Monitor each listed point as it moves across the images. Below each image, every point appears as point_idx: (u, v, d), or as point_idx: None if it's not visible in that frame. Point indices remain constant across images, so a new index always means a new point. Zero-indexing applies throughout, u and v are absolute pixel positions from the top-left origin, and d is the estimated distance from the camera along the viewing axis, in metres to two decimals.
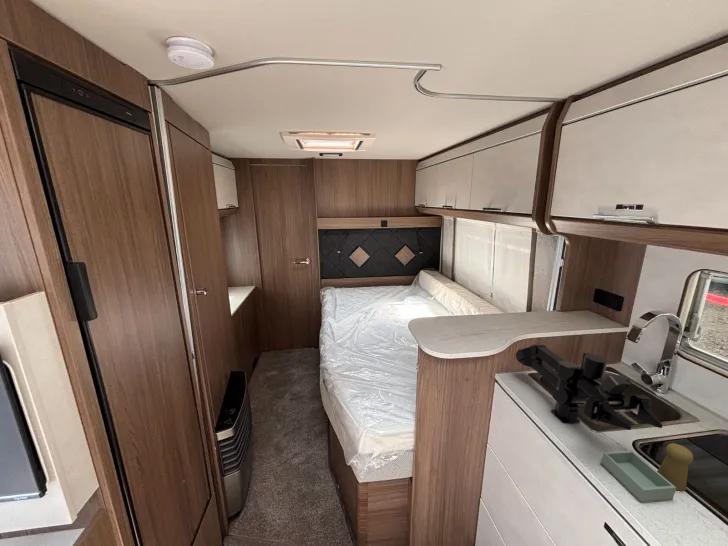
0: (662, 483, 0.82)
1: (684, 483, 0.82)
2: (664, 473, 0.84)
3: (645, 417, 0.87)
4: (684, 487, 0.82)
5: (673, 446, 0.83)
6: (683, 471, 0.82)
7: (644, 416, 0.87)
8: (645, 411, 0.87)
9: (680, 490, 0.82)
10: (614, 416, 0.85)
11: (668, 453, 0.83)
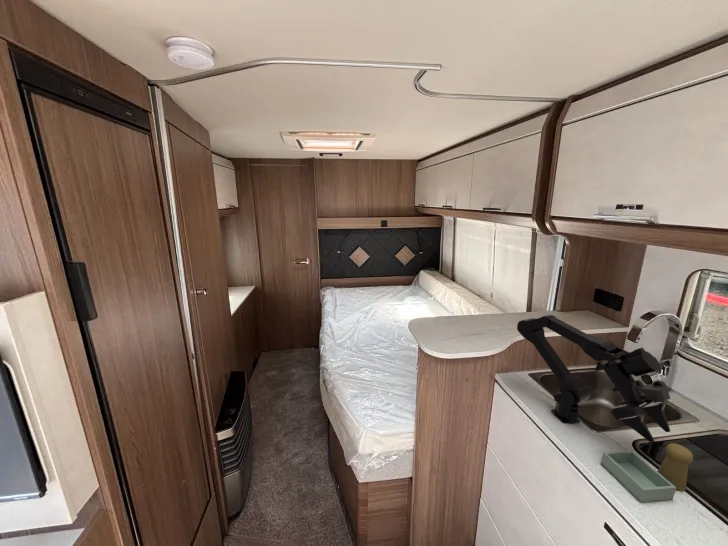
0: (662, 483, 0.82)
1: (684, 483, 0.82)
2: (664, 473, 0.84)
3: (655, 415, 0.91)
4: (684, 487, 0.82)
5: (673, 446, 0.83)
6: (683, 471, 0.82)
7: (654, 414, 0.91)
8: (659, 413, 0.90)
9: (680, 490, 0.82)
10: (643, 428, 0.85)
11: (668, 453, 0.83)
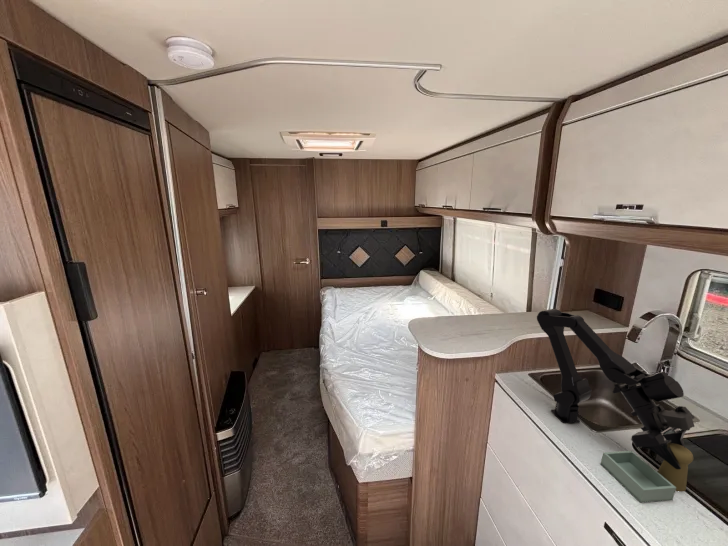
0: (662, 483, 0.82)
1: (684, 483, 0.82)
2: (664, 473, 0.84)
3: None
4: (684, 487, 0.82)
5: (673, 446, 0.83)
6: (683, 471, 0.82)
7: (672, 442, 0.86)
8: (678, 441, 0.85)
9: (680, 490, 0.82)
10: (669, 454, 0.82)
11: None
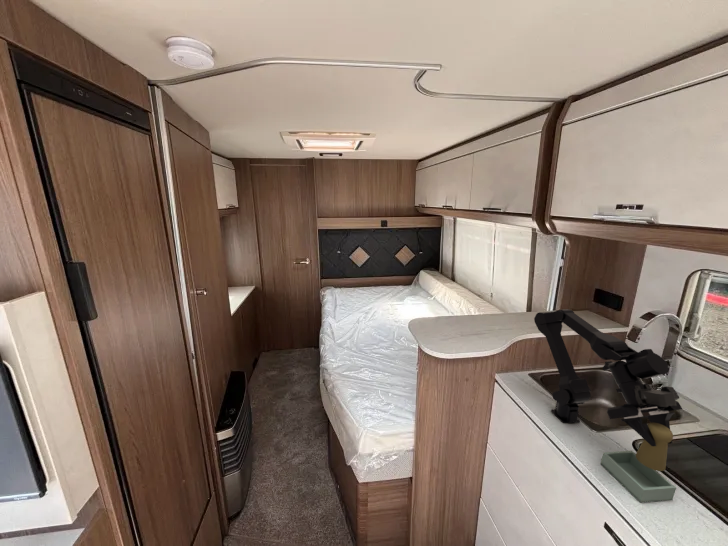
0: (662, 483, 0.82)
1: (661, 462, 0.80)
2: (641, 451, 0.83)
3: None
4: (661, 467, 0.80)
5: (653, 424, 0.82)
6: (660, 450, 0.80)
7: None
8: (663, 422, 0.83)
9: (656, 469, 0.81)
10: (644, 430, 0.81)
11: None
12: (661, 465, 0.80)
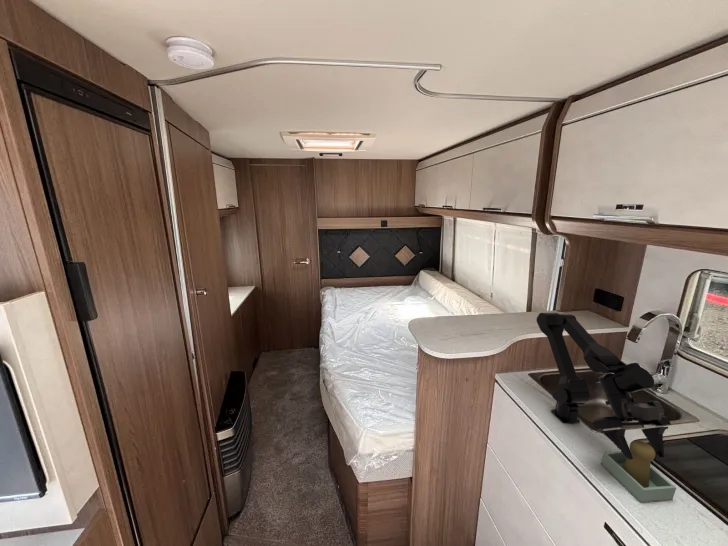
0: (662, 483, 0.82)
1: (643, 480, 0.82)
2: (625, 468, 0.85)
3: (651, 438, 0.85)
4: (644, 484, 0.82)
5: (636, 442, 0.84)
6: (642, 468, 0.82)
7: (651, 437, 0.85)
8: (656, 436, 0.84)
9: None
10: (622, 443, 0.82)
11: (629, 447, 0.84)
12: (643, 483, 0.82)
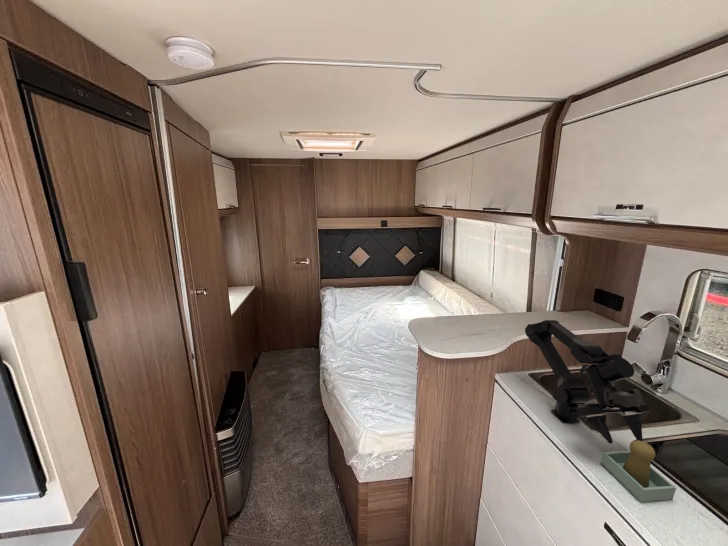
0: (662, 483, 0.82)
1: (643, 480, 0.82)
2: (625, 468, 0.85)
3: (631, 424, 0.91)
4: (644, 484, 0.82)
5: (636, 442, 0.84)
6: (642, 468, 0.82)
7: (631, 423, 0.91)
8: (635, 422, 0.90)
9: None
10: (603, 428, 0.88)
11: (629, 447, 0.84)
12: (643, 483, 0.82)
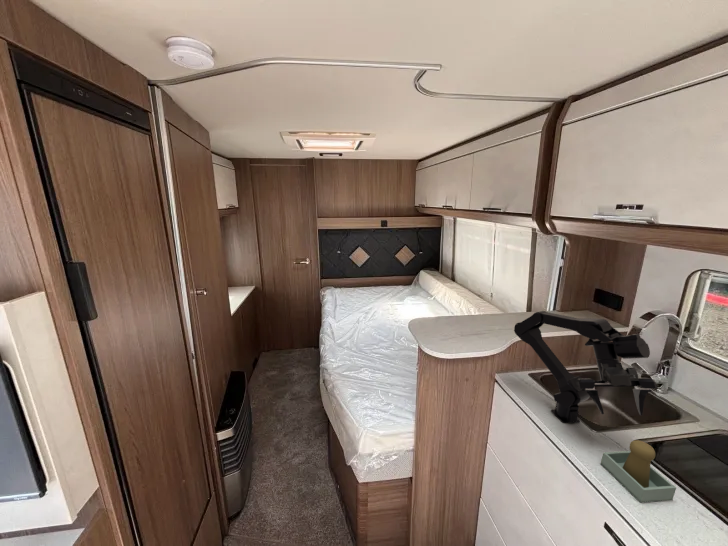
0: (662, 483, 0.82)
1: (643, 480, 0.82)
2: (625, 468, 0.85)
3: (636, 398, 0.92)
4: (644, 484, 0.82)
5: (636, 442, 0.84)
6: (642, 468, 0.82)
7: (636, 397, 0.92)
8: (638, 397, 0.90)
9: None
10: (595, 401, 0.94)
11: (629, 447, 0.84)
12: (643, 483, 0.82)
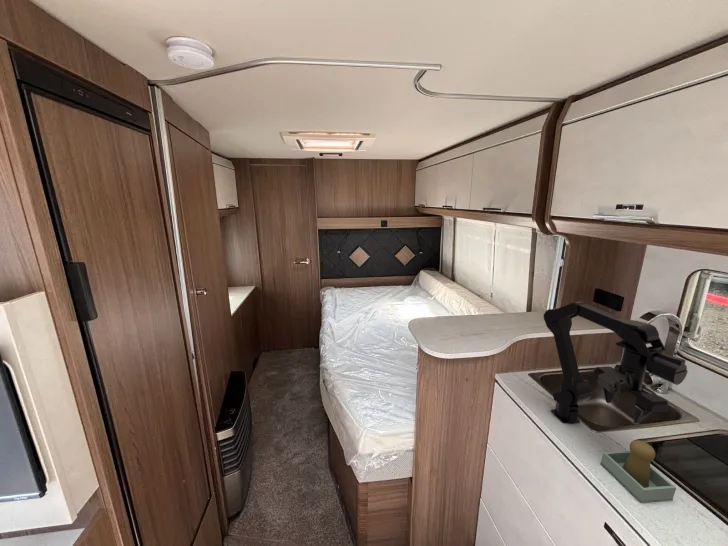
0: (662, 483, 0.82)
1: (643, 480, 0.82)
2: (625, 468, 0.85)
3: None
4: (644, 484, 0.82)
5: (636, 442, 0.84)
6: (642, 468, 0.82)
7: None
8: None
9: None
10: None
11: (629, 447, 0.84)
12: (643, 483, 0.82)
